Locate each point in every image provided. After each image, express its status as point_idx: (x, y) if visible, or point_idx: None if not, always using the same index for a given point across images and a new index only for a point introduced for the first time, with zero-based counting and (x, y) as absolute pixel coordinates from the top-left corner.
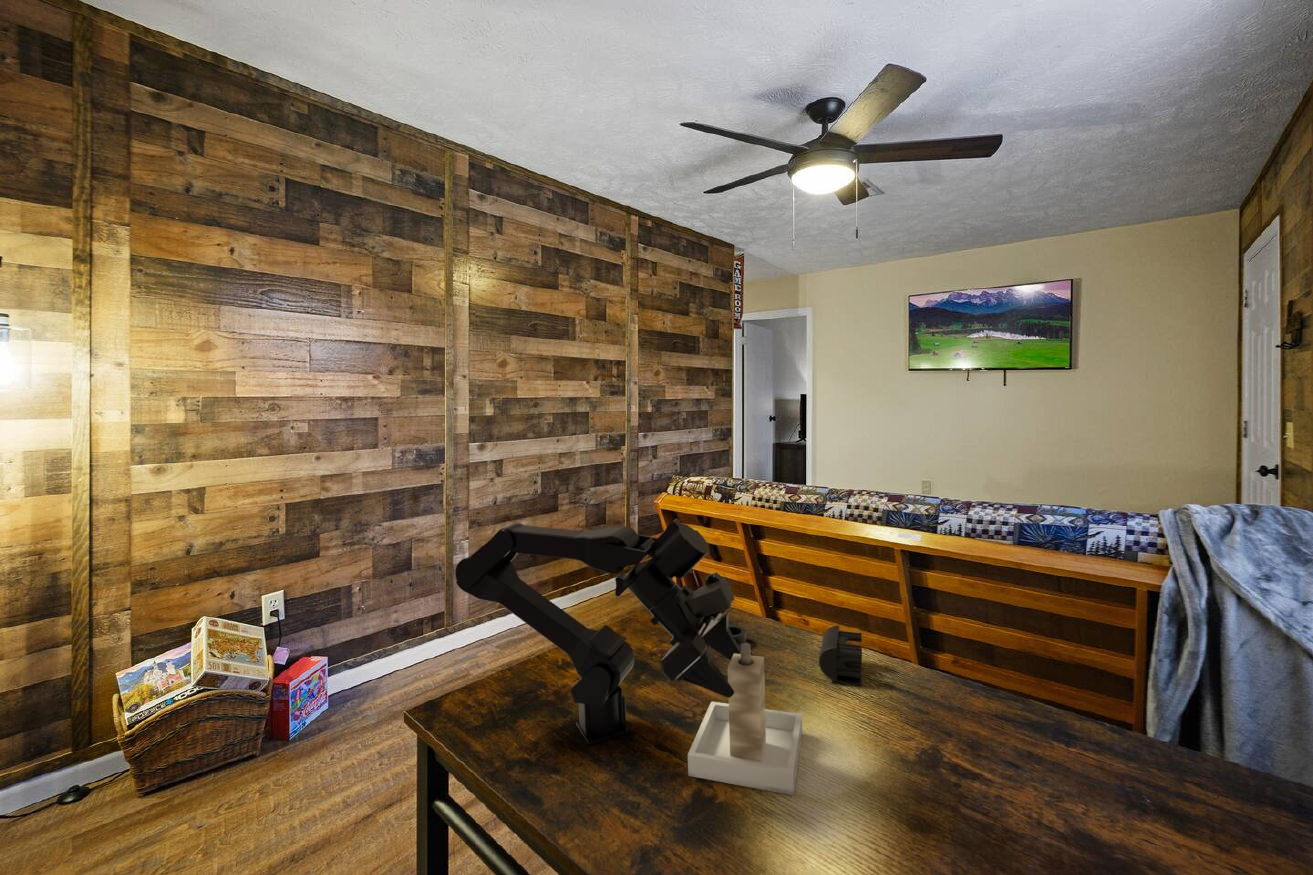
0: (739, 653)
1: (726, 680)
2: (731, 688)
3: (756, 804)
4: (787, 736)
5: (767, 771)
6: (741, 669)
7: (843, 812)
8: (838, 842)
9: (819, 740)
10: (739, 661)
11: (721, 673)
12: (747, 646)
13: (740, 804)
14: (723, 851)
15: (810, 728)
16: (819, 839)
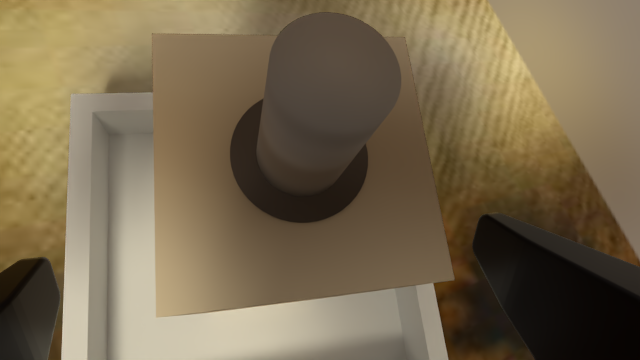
0: (7, 309)
1: (551, 248)
2: (511, 223)
3: (438, 186)
4: (146, 156)
5: None
6: (429, 162)
7: (378, 20)
8: (456, 28)
9: (120, 76)
10: (320, 208)
11: (605, 280)
12: (370, 41)
13: (455, 221)
14: (583, 217)
15: (57, 104)
16: (466, 57)
